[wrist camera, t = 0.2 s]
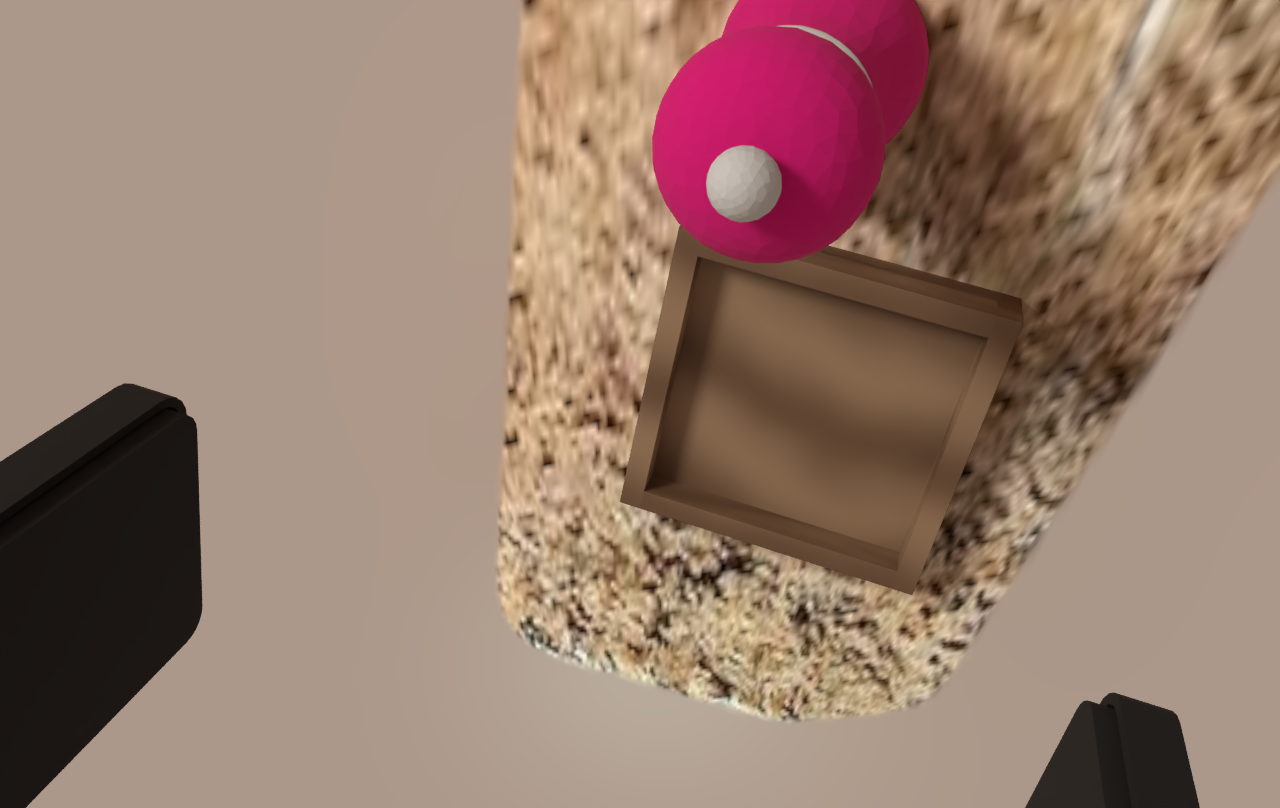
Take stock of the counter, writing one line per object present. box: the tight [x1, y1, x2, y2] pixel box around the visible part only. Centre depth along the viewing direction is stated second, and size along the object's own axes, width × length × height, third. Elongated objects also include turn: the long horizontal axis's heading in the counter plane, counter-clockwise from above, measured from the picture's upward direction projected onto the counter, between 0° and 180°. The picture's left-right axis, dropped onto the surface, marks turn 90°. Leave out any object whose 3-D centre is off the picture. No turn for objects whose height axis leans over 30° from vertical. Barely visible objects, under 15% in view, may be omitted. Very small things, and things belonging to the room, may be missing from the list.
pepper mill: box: [652, 0, 929, 263], centre depth 33 cm, size 7×7×20 cm
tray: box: [620, 225, 1023, 595], centre depth 48 cm, size 14×14×2 cm
